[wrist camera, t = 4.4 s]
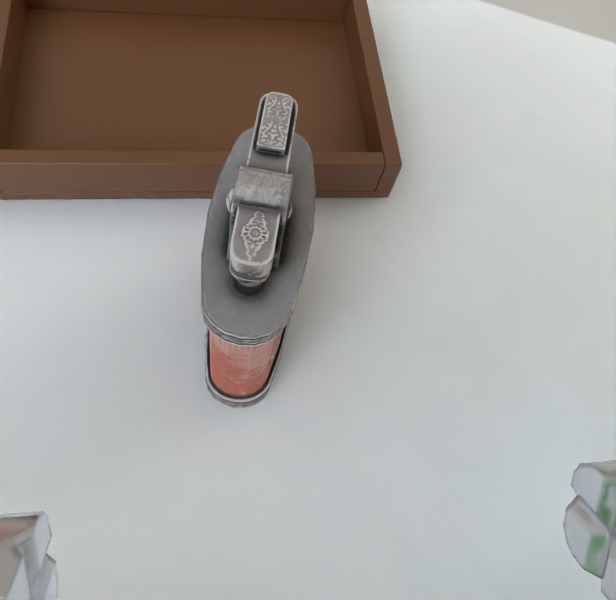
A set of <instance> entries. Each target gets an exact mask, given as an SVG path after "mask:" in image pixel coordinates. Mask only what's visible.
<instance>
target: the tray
mask: <svg viewBox="0 0 616 600" xmlns="http://www.w3.org/2000/svg"><path fill="white" fill-rule="evenodd" d="M270 92H278V93H283V94H287V95H289V96H291V97H292V98H293V99H294V100H296V102H297V104H298V111H297V118H296V124H295V130H294V131H295V132H296V133H298V134H300V135H301V136H302V137H303V138H304V139H305V140H306V141H307V142H308V143H309V146H310V148H311V151H312V158H313V168H314V179H315V189H316V190H315V197H388V196H389V194H390V191H391V189H392V187H393V185H394V182H395V180H396V178H397V176H398V173H399V171H400V169H401V167H402V162H401V158H400V153H399V149H398V144H397V139H396V135H395V130H394V126H393V121H392V116H391V112H390V107H389V103H388V98H387V93H386V89H385V84H384V80H383V75H382V70H381V66H380V61H379V57H378V52H377V47H376V43H375V38H374V34H373V29H372V24H371V20H370V15H369V11H368V6H367V1H366V0H0V199H122V198H212V197H213V194H214V191H215V188H216V185H217V182H218V179H219V176H220V173H221V171H222V169H223V167H224V165H225V163H226V161H227V159H228V157H229V155H230V152H231V150H232V148H233V146H234V144H235V142H236V140H237V139H238V137H239V136H240V135H241V134H242V133H243V132H244V131H246V130H248V129H250V128H252V127H254V126H255V122H256V117H257V112H258V107H259V103H260V100H261V98H262V97H263V96H264V95H265V94H268V93H270Z"/></svg>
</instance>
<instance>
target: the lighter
mask: <svg viewBox="0 0 616 600" xmlns="http://www.w3.org/2000/svg"><path fill="white" fill-rule="evenodd" d="M297 111H298V104H297V102H296V100H294V99H293V98H292V97H291V96H289V95H287V94H283V93H278V92H270V93H268V94H265V95H264V96H263V97H262V98H261V100H260V103H259V107H258V112H257V117H256V122H255V126H254V127H252V128H250V129H248V130H246V131H244V132H243V133H242V134H241V135H240V136H239V137H238V139H237V140H236V142H235V144H234V146H233V148H232V150H231V152H230V155H229V157H228V159H227V161H226V163H225V165H224V167H223V169H222V171H221V173H220V176H219V179H218V182H217V185H216V188H215V191H214V194H213V197H212V201H211V204H210V207H209V210H208V215H207V221H206V228H205V235H204V242H203V249H202V263H201V305H202V314H203V318H204V323H205V324H206V325H207V330H206V339H205V375H206V383H207V388H208V390H209V392H210V393H211V395H212V396H213V397H214V398H215V399H216V400H218V401H219V402H221V403H222V404H225V405H228V406H231V407H247V406H251V405H254V404H256V403H258V402H259V401H260V400H262V399H263V398H264V397H265V395H266V394H267V392H268V390H269V388H270V385H271V382H272V380H273V377H274V374H275V371H276V369H277V366H278V363H279V360H280V357H281V354H282V350H283V346H284V342H285V337H286V333H287V328H288V324H289V319H290V316H291V315H292V313H293V310H294V306H295V303H296V299H297V295H298V291H299V288H300V285H301V282H302V279H303V275H304V271H305V267H306V262H307V258H308V253H309V249H310V244H311V239H312V235H313V230H314V211H315V190H316V189H315V179H314V168H313V158H312V151H311V148H310V146H309V143H308V142H307V141H306V140H305V139H304V138H303V137H302V136H301V135H300V134H298V133H296V132H295V131H294V130H295V124H296V118H297Z"/></svg>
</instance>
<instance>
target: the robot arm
mask: <svg viewBox="0 0 616 600" xmlns="http://www.w3.org/2000/svg"><path fill="white" fill-rule="evenodd" d="M571 486H572V488H573V490H574V491H575V493H576V495H577V496H576V497H575V498H574V500H573V501H572V502H571V503H570V504H569V505H568V506H567V508H566V511H565V518H564V524H563V526H564V531H565V537H566V542H567V544H568V547H569V549H570V551H571V553H572V555H573V557H574V558H575V559H576V560H577V562H578V563H579V564H580V566H581V567H582V568H583V569H584V570H586V571H588V572H590V573H591V574H593V575H595V576H597V577H599V578H600V579H601V592H602V593H603V594H604V596H605V597H606V598H607V599H608V600H616V460H611V461H601V462H591V463H580V464H579V465H578V467H577V468H576V469H575V471H574V473H573V477H572V482H571ZM51 536H52V534H51V529H50V524H49V518H48V515H47V514H46V513H45V512H43V511H42V512H28V513H13V514H0V600H57V596H58V575H57V568H56V561H55V560H54V559H52V558H51V557H50V556H49V555H48V554H47V553H46V551H47V548H48V545H49V542H50V539H51Z"/></svg>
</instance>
